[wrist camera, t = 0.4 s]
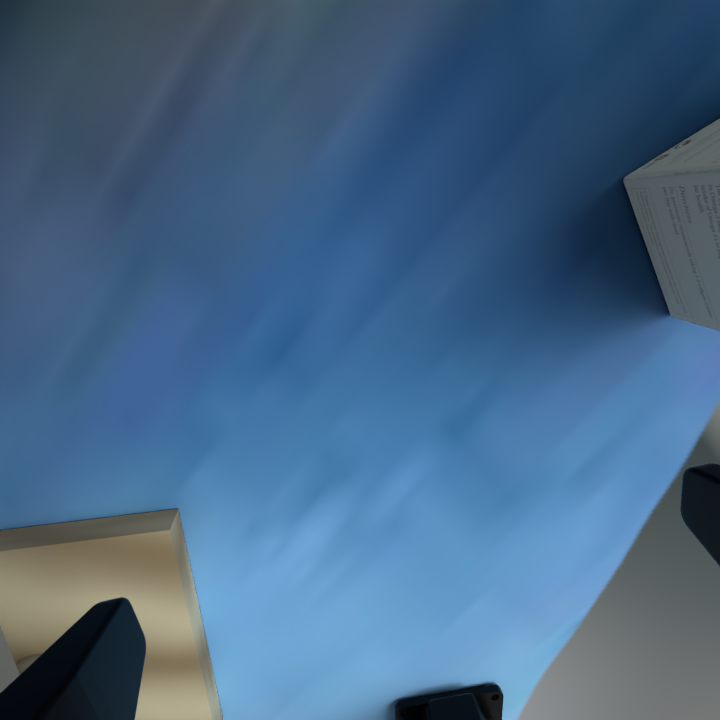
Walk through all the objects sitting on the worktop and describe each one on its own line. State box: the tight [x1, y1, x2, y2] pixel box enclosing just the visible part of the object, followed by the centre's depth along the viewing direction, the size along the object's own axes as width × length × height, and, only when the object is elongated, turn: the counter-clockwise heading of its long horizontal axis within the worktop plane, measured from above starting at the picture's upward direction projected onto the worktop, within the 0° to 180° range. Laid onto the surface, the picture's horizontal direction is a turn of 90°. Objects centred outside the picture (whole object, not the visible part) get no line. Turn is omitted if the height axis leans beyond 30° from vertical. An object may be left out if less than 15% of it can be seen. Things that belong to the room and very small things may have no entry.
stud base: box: [0, 509, 223, 720], centre depth 22 cm, size 14×14×4 cm
